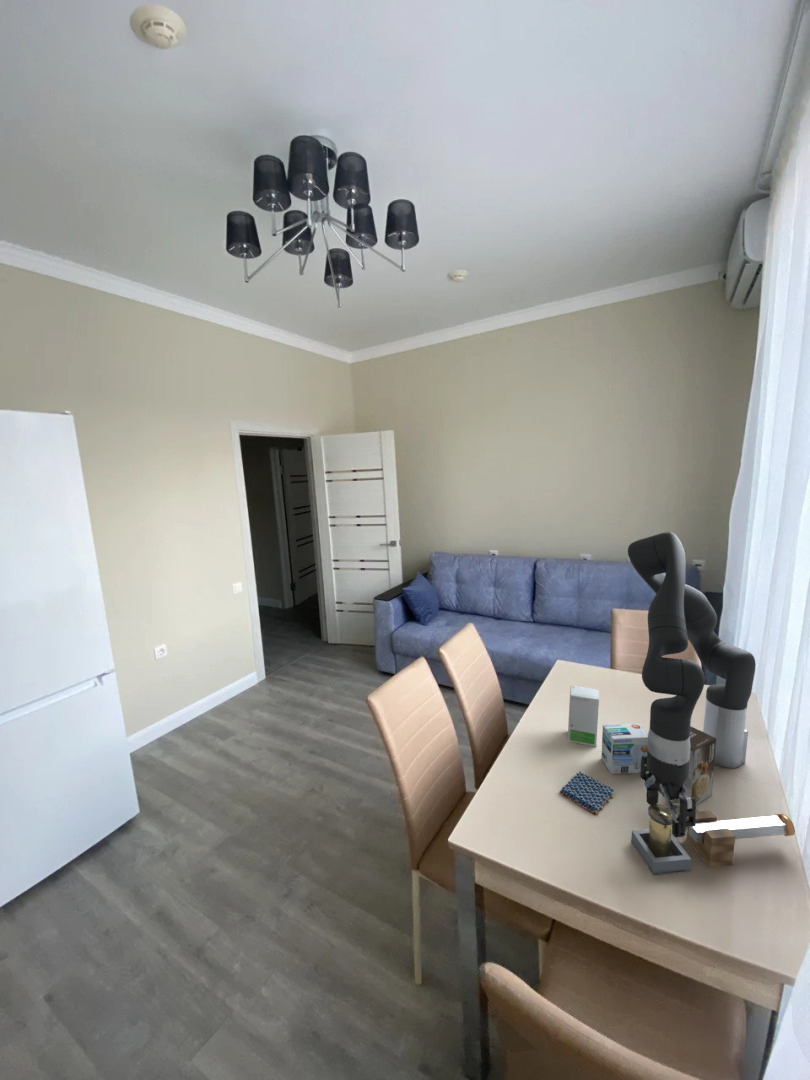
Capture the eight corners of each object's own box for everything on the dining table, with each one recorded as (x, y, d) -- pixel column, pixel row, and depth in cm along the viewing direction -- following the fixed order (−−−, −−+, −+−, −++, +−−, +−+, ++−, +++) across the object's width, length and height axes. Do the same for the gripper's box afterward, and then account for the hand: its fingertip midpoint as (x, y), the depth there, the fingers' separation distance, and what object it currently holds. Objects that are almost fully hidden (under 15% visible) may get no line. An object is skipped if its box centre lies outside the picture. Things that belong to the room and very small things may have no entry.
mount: (707, 837, 99) (710, 809, 98) (732, 865, 92) (735, 836, 91) (686, 839, 99) (688, 811, 98) (709, 867, 92) (712, 838, 91)
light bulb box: (611, 774, 120) (612, 739, 118) (600, 758, 126) (601, 724, 124) (650, 773, 120) (652, 737, 118) (637, 756, 126) (639, 722, 124)
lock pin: (777, 825, 98) (779, 809, 97) (793, 840, 94) (795, 824, 93) (685, 833, 97) (687, 817, 96) (698, 849, 93) (700, 832, 92)
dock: (665, 838, 99) (666, 827, 99) (690, 871, 91) (691, 859, 91) (631, 842, 99) (631, 830, 98) (652, 874, 91) (653, 862, 90)
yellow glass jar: (662, 842, 98) (664, 803, 96) (676, 861, 93) (679, 820, 91) (641, 844, 97) (643, 805, 96) (654, 863, 93) (657, 822, 91)
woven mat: (616, 795, 113) (617, 788, 112) (597, 818, 106) (597, 811, 106) (578, 775, 121) (578, 768, 120) (557, 795, 114) (557, 788, 114)
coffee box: (686, 779, 116) (690, 724, 114) (712, 795, 111) (717, 738, 108) (665, 793, 112) (669, 736, 109) (691, 809, 107) (695, 750, 104)
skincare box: (567, 742, 134) (568, 695, 131) (568, 729, 140) (569, 684, 137) (597, 747, 131) (599, 699, 128) (597, 734, 137) (598, 688, 134)
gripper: (630, 731, 97) (628, 795, 100) (673, 776, 83) (669, 850, 86) (663, 728, 97) (660, 792, 100) (711, 772, 83) (706, 846, 86)
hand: (664, 819), depth 93 cm, fingers open, 8 cm apart
